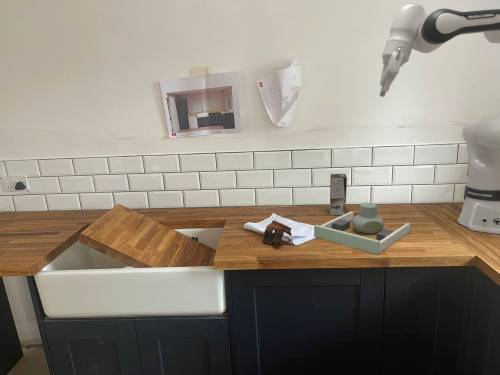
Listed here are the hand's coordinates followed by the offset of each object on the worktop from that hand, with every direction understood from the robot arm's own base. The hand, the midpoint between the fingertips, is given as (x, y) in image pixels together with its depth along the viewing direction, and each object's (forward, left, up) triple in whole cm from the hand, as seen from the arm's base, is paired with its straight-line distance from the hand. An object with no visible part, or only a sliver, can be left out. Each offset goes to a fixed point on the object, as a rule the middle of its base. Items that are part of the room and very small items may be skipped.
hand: (383, 93), depth 121 cm
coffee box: (+19, -4, -48) cm, 52 cm away
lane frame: (-1, +13, -48) cm, 50 cm away
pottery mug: (+17, +38, -49) cm, 64 cm away
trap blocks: (-1, +13, -48) cm, 50 cm away
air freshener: (-1, +9, -48) cm, 49 cm away
